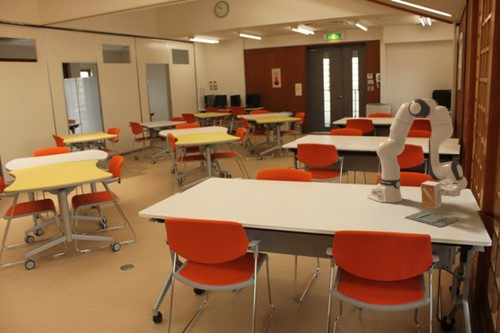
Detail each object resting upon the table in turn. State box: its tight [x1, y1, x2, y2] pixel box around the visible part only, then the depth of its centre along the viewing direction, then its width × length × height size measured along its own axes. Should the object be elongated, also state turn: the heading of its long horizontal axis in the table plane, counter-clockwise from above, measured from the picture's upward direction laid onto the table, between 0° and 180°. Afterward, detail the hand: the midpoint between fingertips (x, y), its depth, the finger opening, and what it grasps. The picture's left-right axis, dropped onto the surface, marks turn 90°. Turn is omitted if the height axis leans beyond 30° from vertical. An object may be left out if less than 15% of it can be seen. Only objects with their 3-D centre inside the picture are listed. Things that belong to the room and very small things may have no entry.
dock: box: [404, 210, 459, 228], centre depth 245 cm, size 22×16×1 cm
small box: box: [420, 180, 443, 209], centre depth 242 cm, size 8×6×13 cm
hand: (430, 192), depth 242 cm, fingers closed on small box, 8 cm apart
